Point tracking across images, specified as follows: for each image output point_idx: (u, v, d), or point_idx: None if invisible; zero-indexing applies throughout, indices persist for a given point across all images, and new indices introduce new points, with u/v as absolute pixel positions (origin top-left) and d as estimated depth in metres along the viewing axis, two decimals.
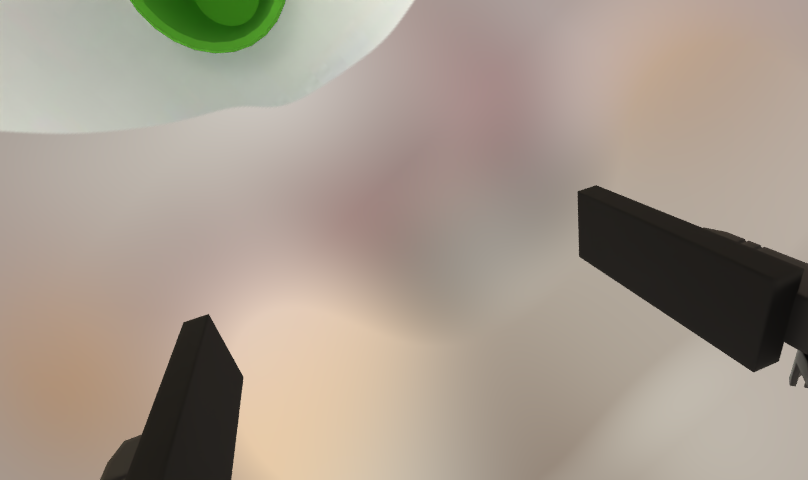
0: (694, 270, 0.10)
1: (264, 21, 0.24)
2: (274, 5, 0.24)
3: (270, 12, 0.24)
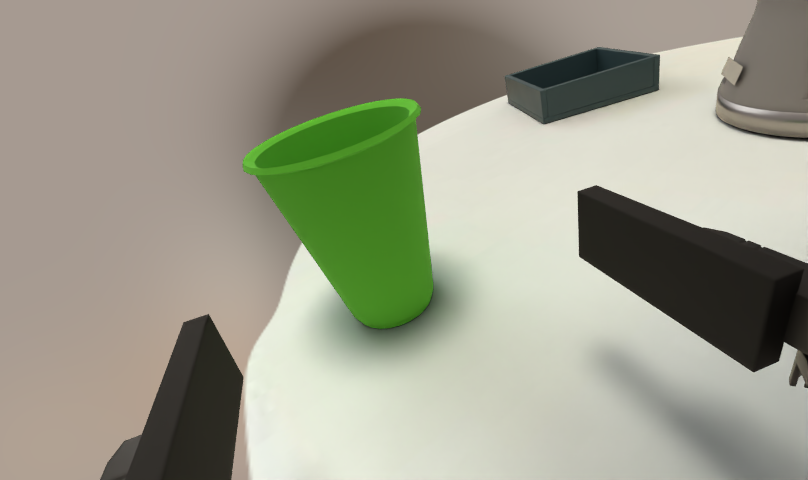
0: (694, 270, 0.10)
1: (257, 167, 0.18)
2: None
3: None
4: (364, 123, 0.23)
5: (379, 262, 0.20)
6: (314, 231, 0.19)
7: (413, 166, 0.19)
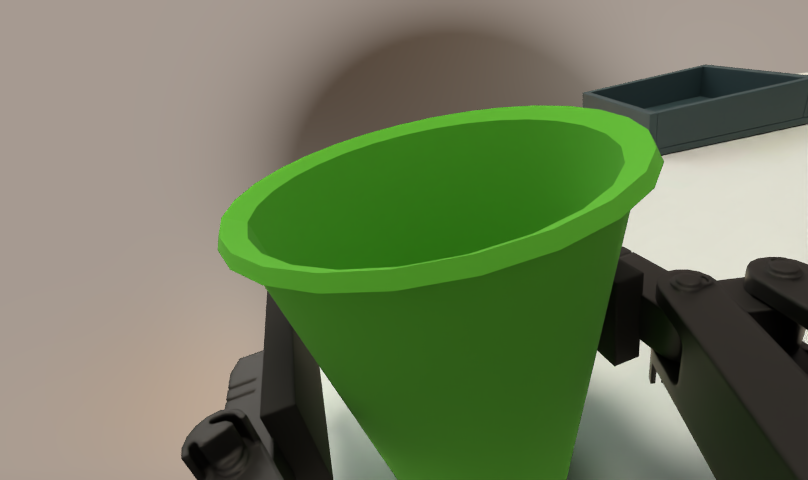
0: None
1: (250, 245, 0.07)
2: (272, 259, 0.07)
3: (262, 256, 0.07)
4: (466, 148, 0.12)
5: (508, 467, 0.09)
6: (373, 402, 0.08)
7: (616, 263, 0.08)
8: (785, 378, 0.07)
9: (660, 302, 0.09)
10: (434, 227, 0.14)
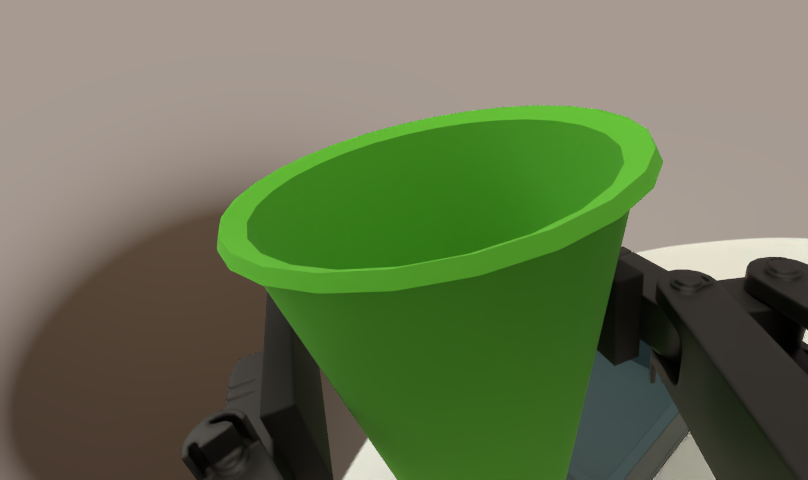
0: None
1: (249, 245, 0.07)
2: (271, 259, 0.07)
3: (262, 256, 0.07)
4: (465, 148, 0.12)
5: (507, 467, 0.09)
6: (372, 402, 0.08)
7: (616, 263, 0.08)
8: (785, 378, 0.07)
9: (660, 302, 0.09)
10: (433, 228, 0.14)
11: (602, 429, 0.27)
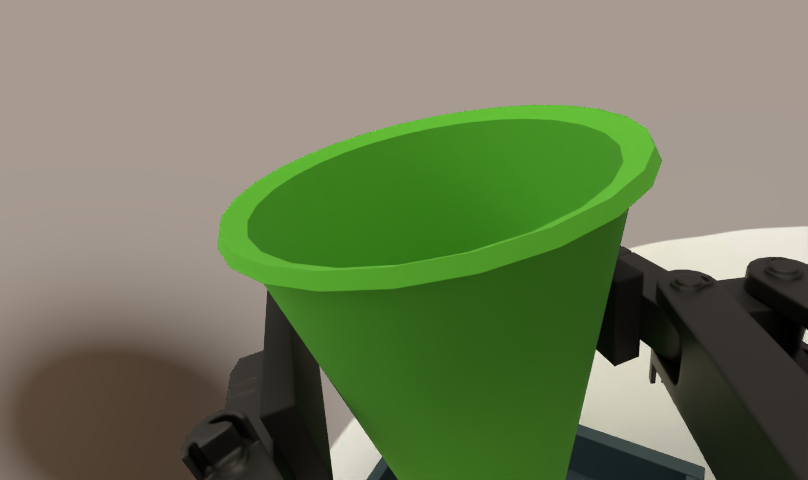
0: None
1: (250, 244, 0.07)
2: (272, 258, 0.07)
3: (262, 254, 0.07)
4: (465, 148, 0.12)
5: (507, 465, 0.09)
6: (372, 400, 0.08)
7: (615, 262, 0.08)
8: (785, 378, 0.07)
9: (660, 302, 0.09)
10: (433, 227, 0.14)
11: None
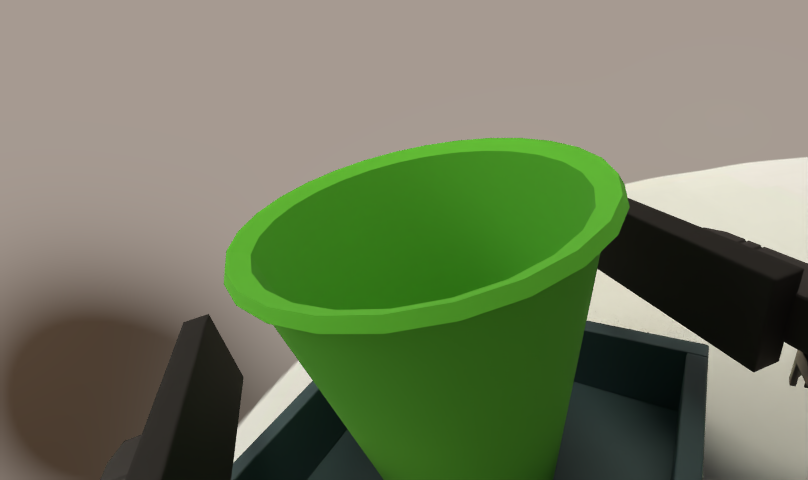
0: (694, 270, 0.10)
1: (254, 280, 0.08)
2: (275, 297, 0.07)
3: (266, 292, 0.08)
4: (455, 176, 0.13)
5: None
6: (367, 423, 0.09)
7: (591, 294, 0.09)
8: None
9: None
10: (426, 249, 0.14)
11: None
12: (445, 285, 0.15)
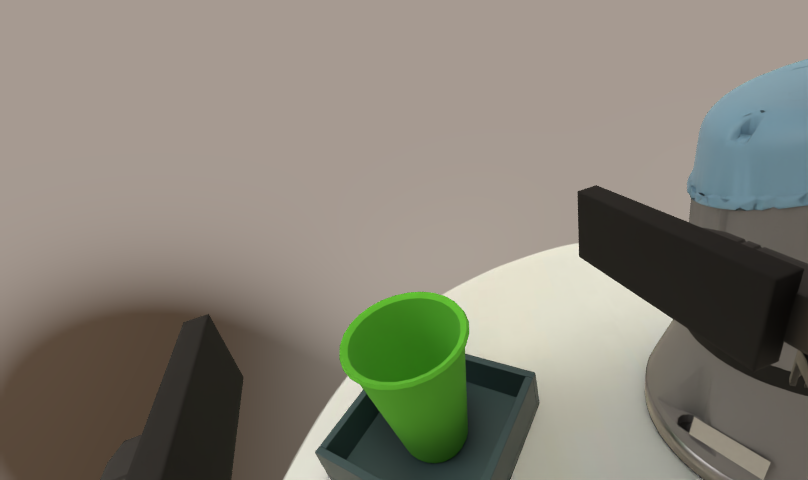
0: (694, 270, 0.10)
1: (353, 369, 0.26)
2: (362, 377, 0.25)
3: (359, 374, 0.25)
4: (421, 306, 0.31)
5: (434, 430, 0.27)
6: (390, 411, 0.27)
7: (462, 366, 0.27)
8: None
9: None
10: (410, 334, 0.32)
11: (462, 459, 0.30)
12: (420, 349, 0.33)
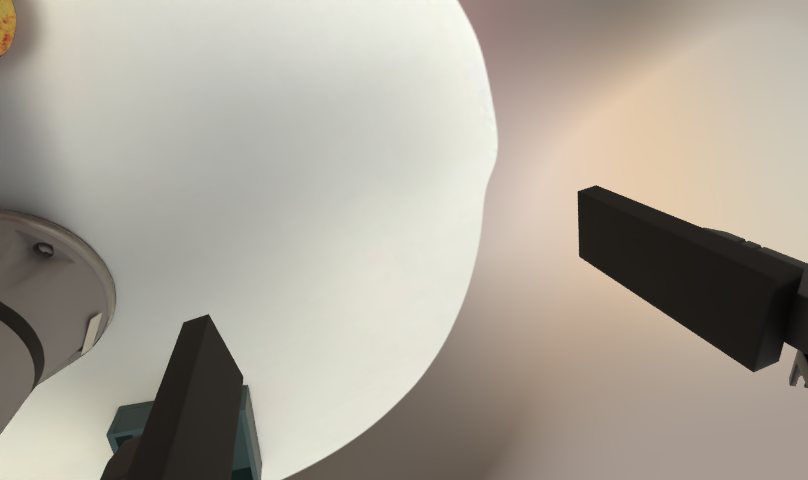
0: (694, 270, 0.10)
1: None
2: None
3: None
4: None
5: None
6: None
7: None
8: None
9: None
10: None
11: None
12: None
